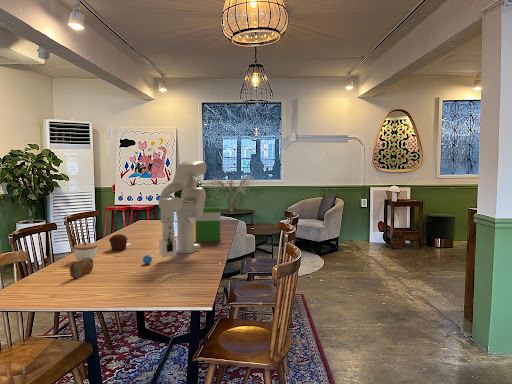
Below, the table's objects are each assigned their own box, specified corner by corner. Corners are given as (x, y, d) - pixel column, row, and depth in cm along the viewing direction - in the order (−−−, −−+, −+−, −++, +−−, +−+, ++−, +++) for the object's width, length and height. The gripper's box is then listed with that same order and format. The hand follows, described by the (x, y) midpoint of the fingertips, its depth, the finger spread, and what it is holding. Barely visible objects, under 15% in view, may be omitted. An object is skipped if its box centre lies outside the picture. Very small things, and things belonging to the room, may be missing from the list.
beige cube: (172, 253, 220) (172, 238, 219) (176, 255, 213) (176, 240, 212) (159, 254, 216) (159, 239, 216) (162, 257, 209) (162, 241, 209)
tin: (74, 280, 180) (73, 263, 179) (68, 280, 181) (67, 263, 180) (93, 271, 195) (93, 255, 194) (88, 271, 195) (87, 255, 195)
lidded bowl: (85, 257, 226) (85, 239, 225) (102, 258, 222) (101, 240, 221) (69, 262, 214) (68, 243, 213) (86, 264, 210) (85, 244, 209)
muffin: (127, 247, 254) (126, 232, 253) (129, 250, 244) (128, 235, 243) (108, 248, 248) (107, 234, 248) (109, 252, 239) (109, 236, 238)
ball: (151, 262, 213) (150, 253, 213) (153, 264, 209) (152, 255, 208) (142, 263, 211) (141, 254, 210) (143, 265, 206) (143, 256, 206)
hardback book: (195, 241, 271) (195, 208, 270) (197, 239, 279) (196, 207, 277) (220, 240, 272) (219, 208, 271) (220, 238, 280) (220, 207, 278)
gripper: (178, 221, 208) (178, 252, 208) (169, 217, 223) (170, 247, 224) (164, 221, 204) (165, 253, 205) (157, 218, 219) (157, 248, 220)
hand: (167, 250), depth 214 cm, fingers closed on beige cube, 7 cm apart
